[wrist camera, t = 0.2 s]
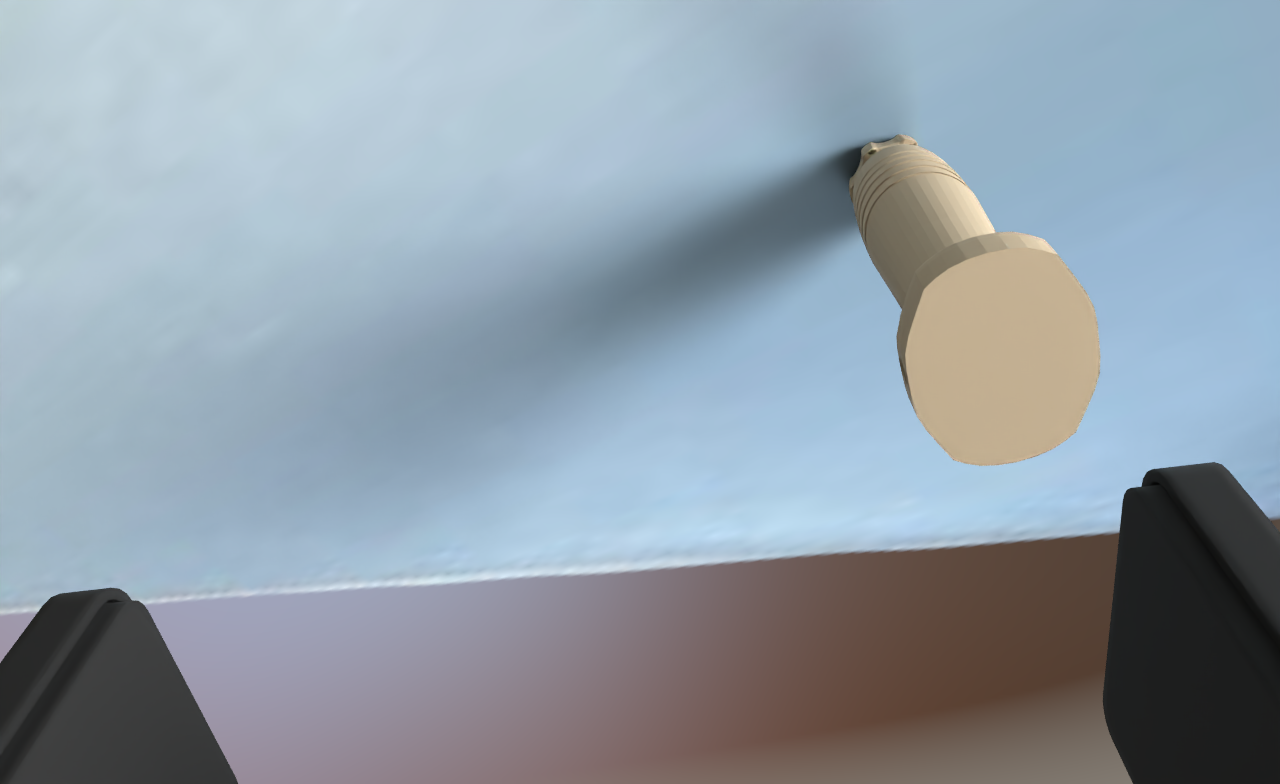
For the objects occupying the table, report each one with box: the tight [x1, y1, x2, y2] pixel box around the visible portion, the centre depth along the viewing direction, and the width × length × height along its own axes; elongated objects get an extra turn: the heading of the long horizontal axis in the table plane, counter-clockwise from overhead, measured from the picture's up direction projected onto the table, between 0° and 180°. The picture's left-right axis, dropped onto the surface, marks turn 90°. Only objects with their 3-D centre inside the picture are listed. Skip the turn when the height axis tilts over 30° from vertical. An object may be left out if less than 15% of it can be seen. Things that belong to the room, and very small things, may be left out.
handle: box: [849, 134, 1100, 466], centre depth 33 cm, size 5×6×15 cm
